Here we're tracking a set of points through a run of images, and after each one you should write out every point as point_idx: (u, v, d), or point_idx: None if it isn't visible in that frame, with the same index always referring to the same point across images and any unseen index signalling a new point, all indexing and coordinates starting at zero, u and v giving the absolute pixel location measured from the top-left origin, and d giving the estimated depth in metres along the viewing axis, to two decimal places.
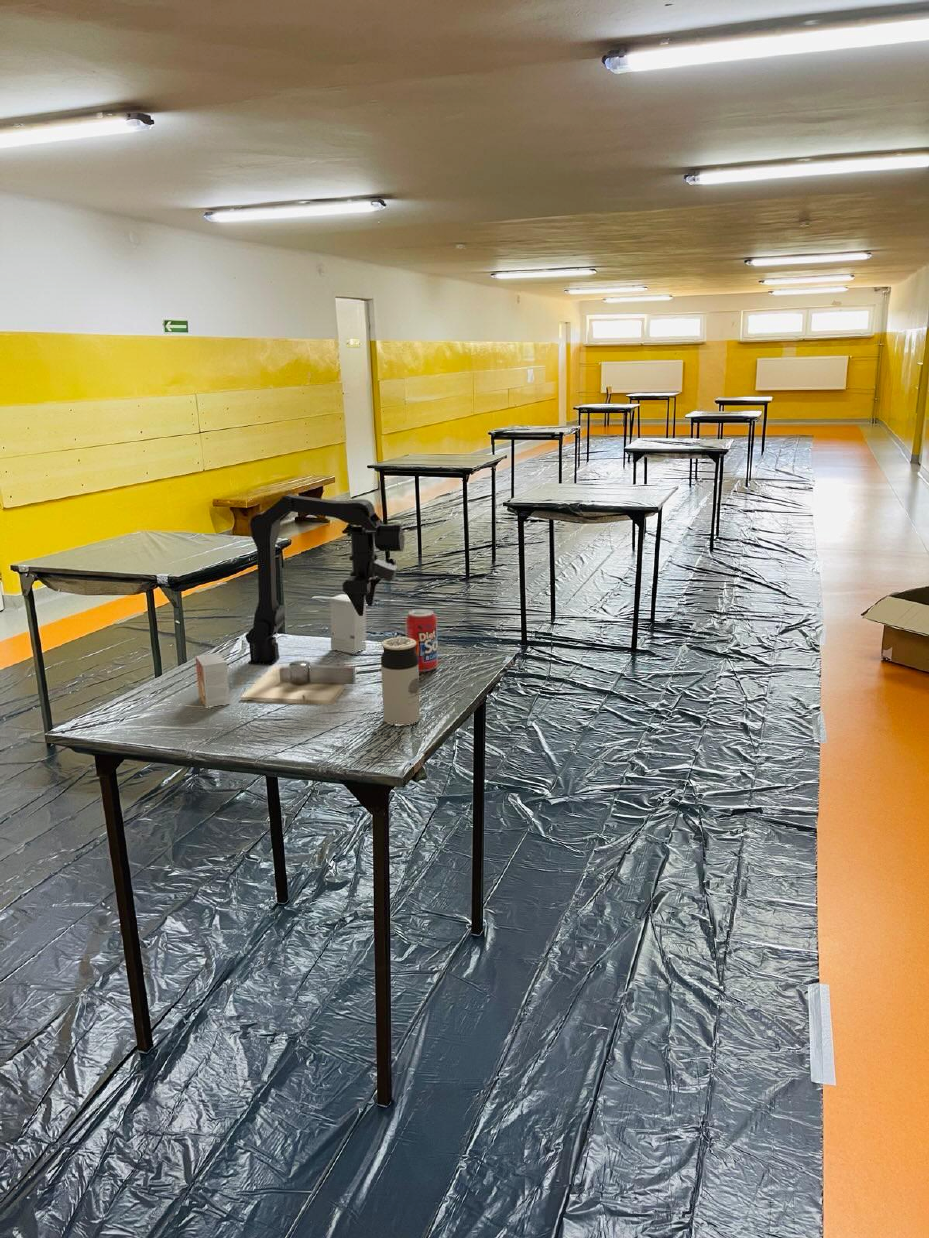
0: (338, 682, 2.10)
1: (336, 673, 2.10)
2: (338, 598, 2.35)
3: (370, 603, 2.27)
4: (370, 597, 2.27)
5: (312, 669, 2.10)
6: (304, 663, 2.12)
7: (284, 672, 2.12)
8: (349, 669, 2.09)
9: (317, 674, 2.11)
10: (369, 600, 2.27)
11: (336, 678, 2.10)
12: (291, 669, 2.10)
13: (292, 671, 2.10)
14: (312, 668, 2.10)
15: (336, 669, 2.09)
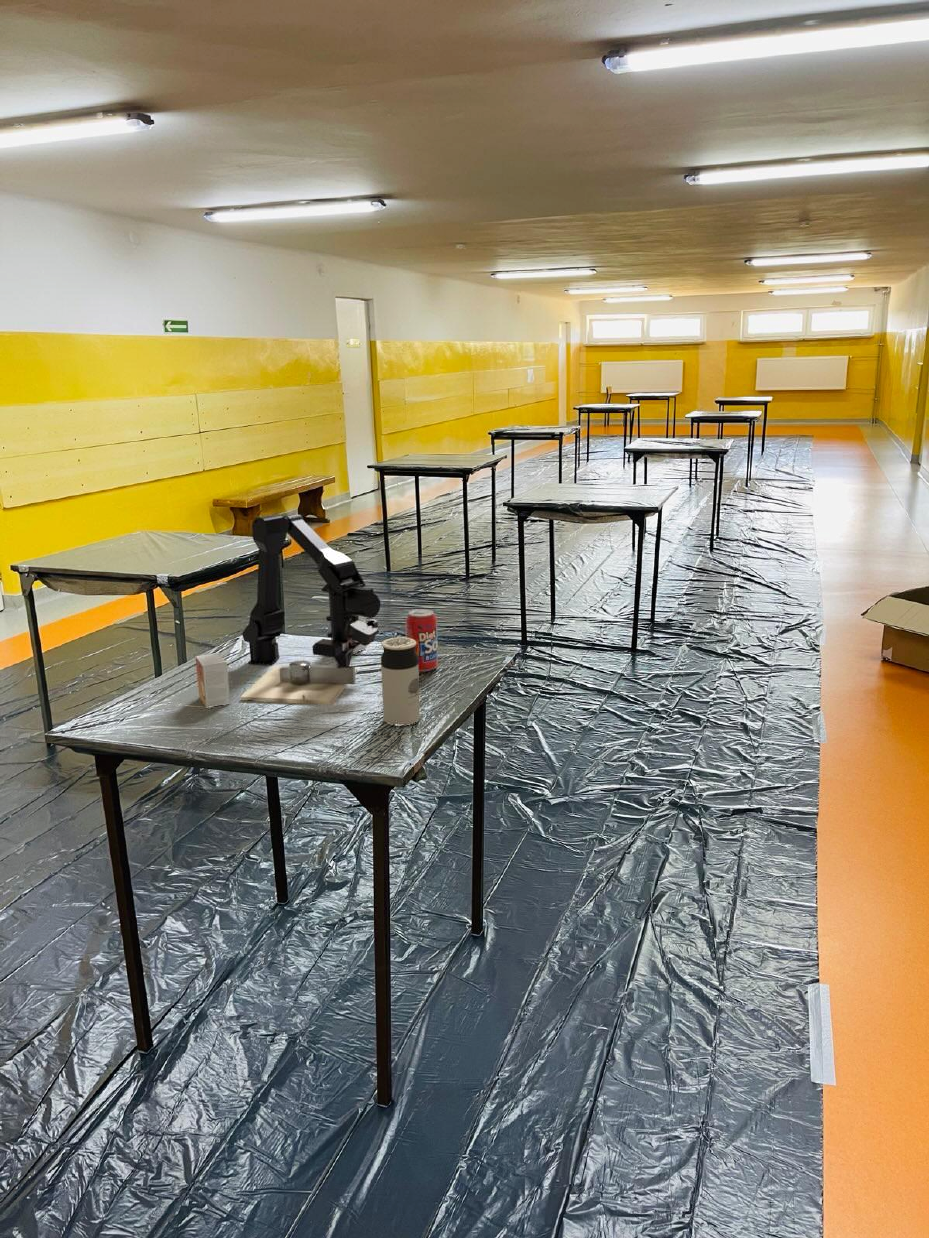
0: (338, 682, 2.10)
1: (336, 673, 2.10)
2: None
3: None
4: None
5: (312, 669, 2.10)
6: (304, 663, 2.12)
7: (284, 672, 2.12)
8: (349, 669, 2.09)
9: (317, 674, 2.11)
10: None
11: (335, 678, 2.10)
12: (291, 669, 2.10)
13: (292, 671, 2.10)
14: (312, 668, 2.10)
15: (336, 669, 2.09)
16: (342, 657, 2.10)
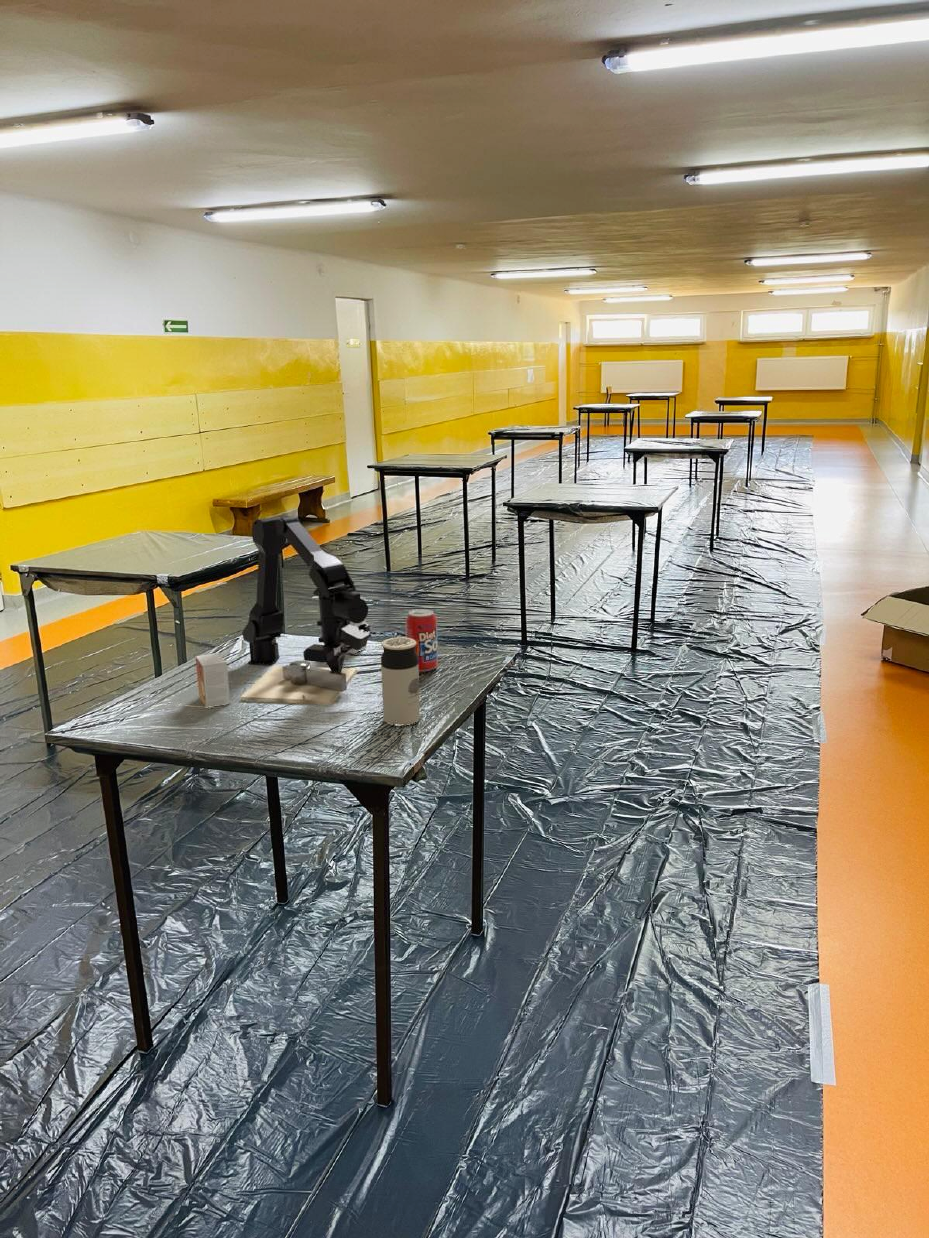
0: (329, 687, 2.07)
1: (328, 678, 2.07)
2: None
3: None
4: None
5: (308, 671, 2.09)
6: (304, 664, 2.11)
7: (286, 670, 2.13)
8: (338, 676, 2.05)
9: (312, 676, 2.09)
10: (336, 671, 2.08)
11: (327, 683, 2.07)
12: (289, 668, 2.11)
13: (290, 670, 2.10)
14: (308, 670, 2.09)
15: (327, 674, 2.06)
16: (334, 662, 2.06)
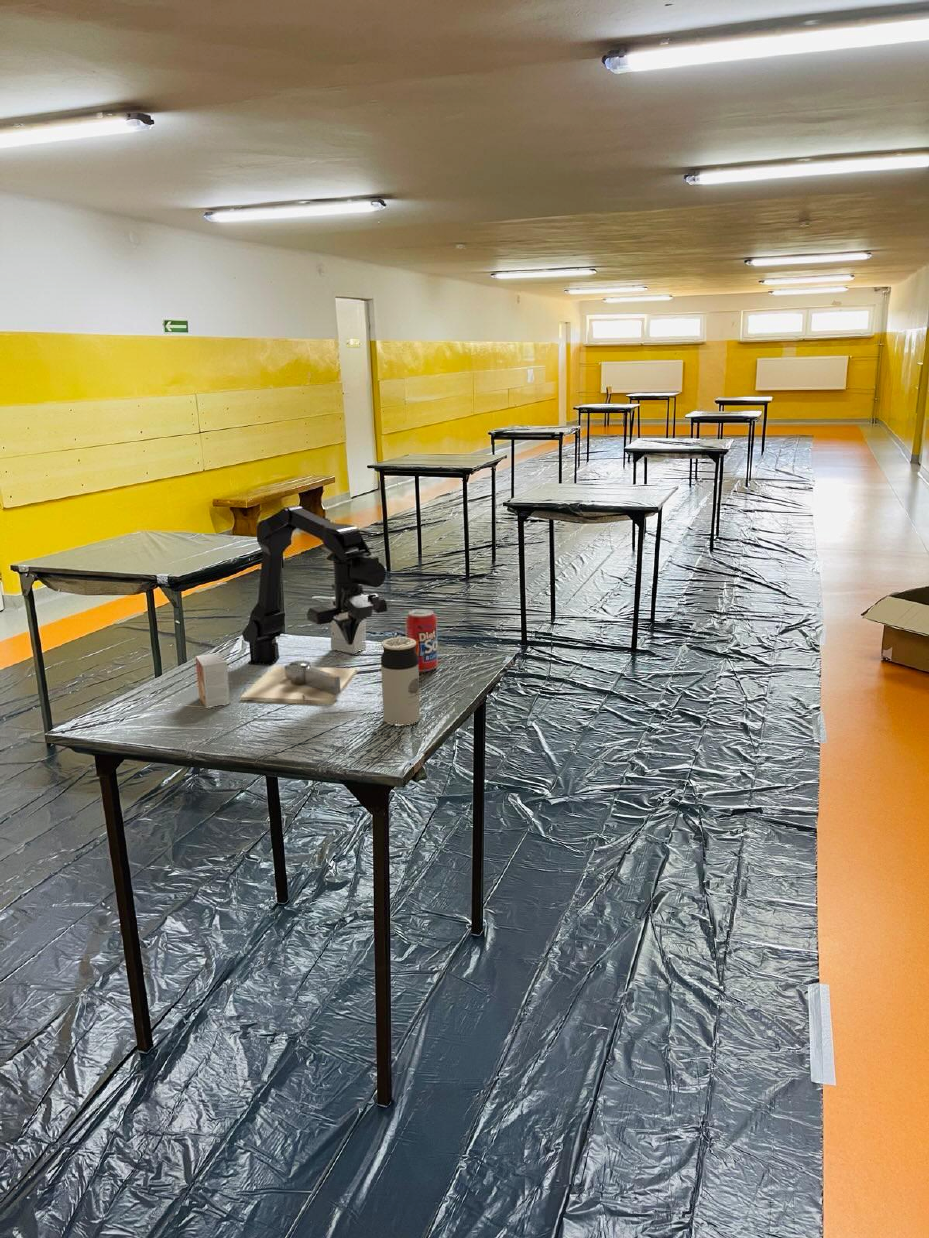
0: (324, 689, 2.06)
1: (322, 680, 2.05)
2: None
3: None
4: None
5: (306, 671, 2.09)
6: (303, 664, 2.11)
7: (288, 669, 2.14)
8: (331, 678, 2.03)
9: (309, 677, 2.09)
10: None
11: (322, 684, 2.06)
12: (289, 667, 2.11)
13: (289, 669, 2.11)
14: (306, 670, 2.09)
15: (322, 676, 2.05)
16: (344, 628, 2.05)
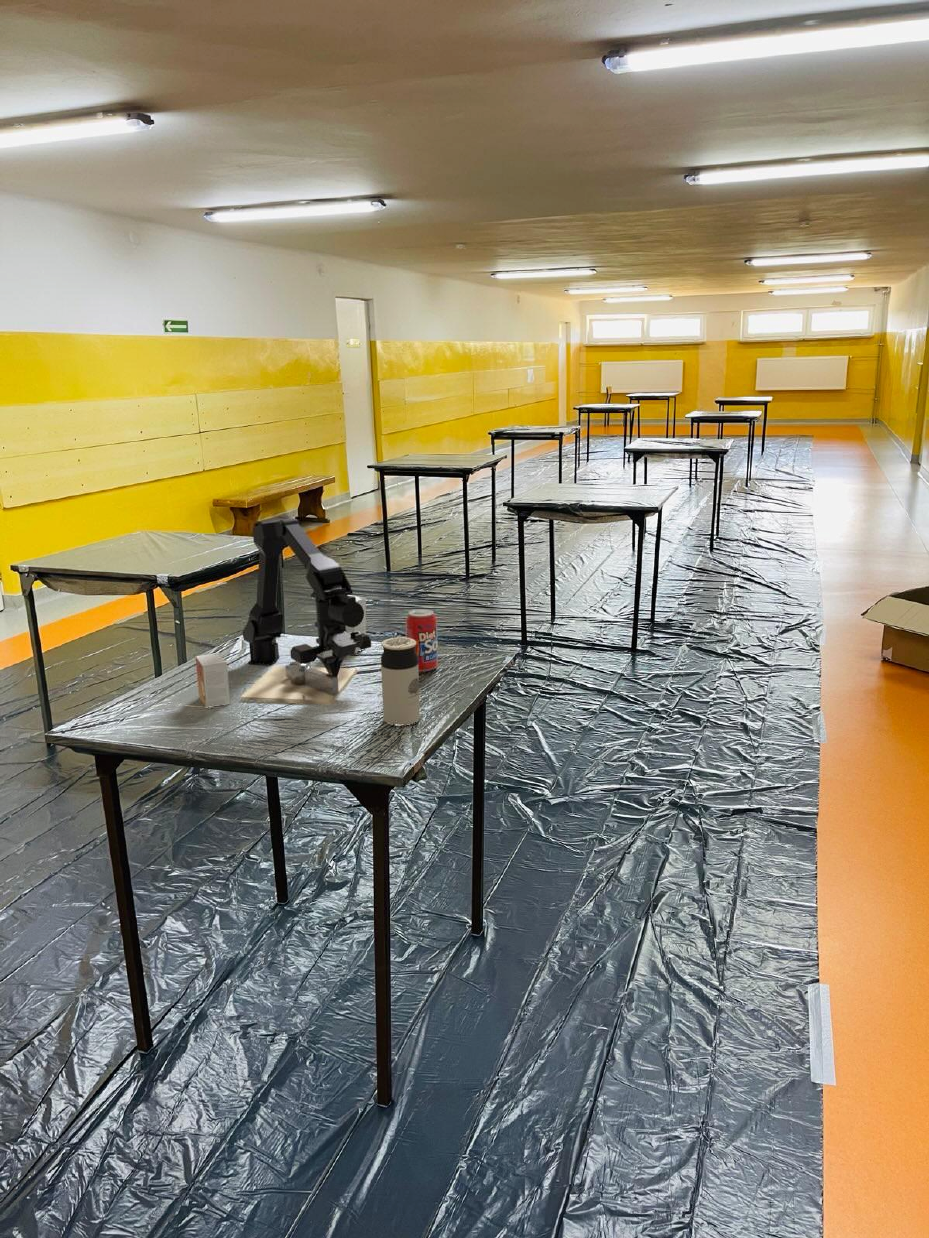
0: (323, 690, 2.06)
1: (321, 680, 2.05)
2: None
3: None
4: None
5: (305, 671, 2.09)
6: (303, 664, 2.11)
7: (288, 669, 2.14)
8: (329, 679, 2.03)
9: (309, 677, 2.08)
10: None
11: (321, 685, 2.06)
12: None
13: (289, 669, 2.11)
14: (305, 670, 2.09)
15: (321, 676, 2.05)
16: (328, 665, 2.05)
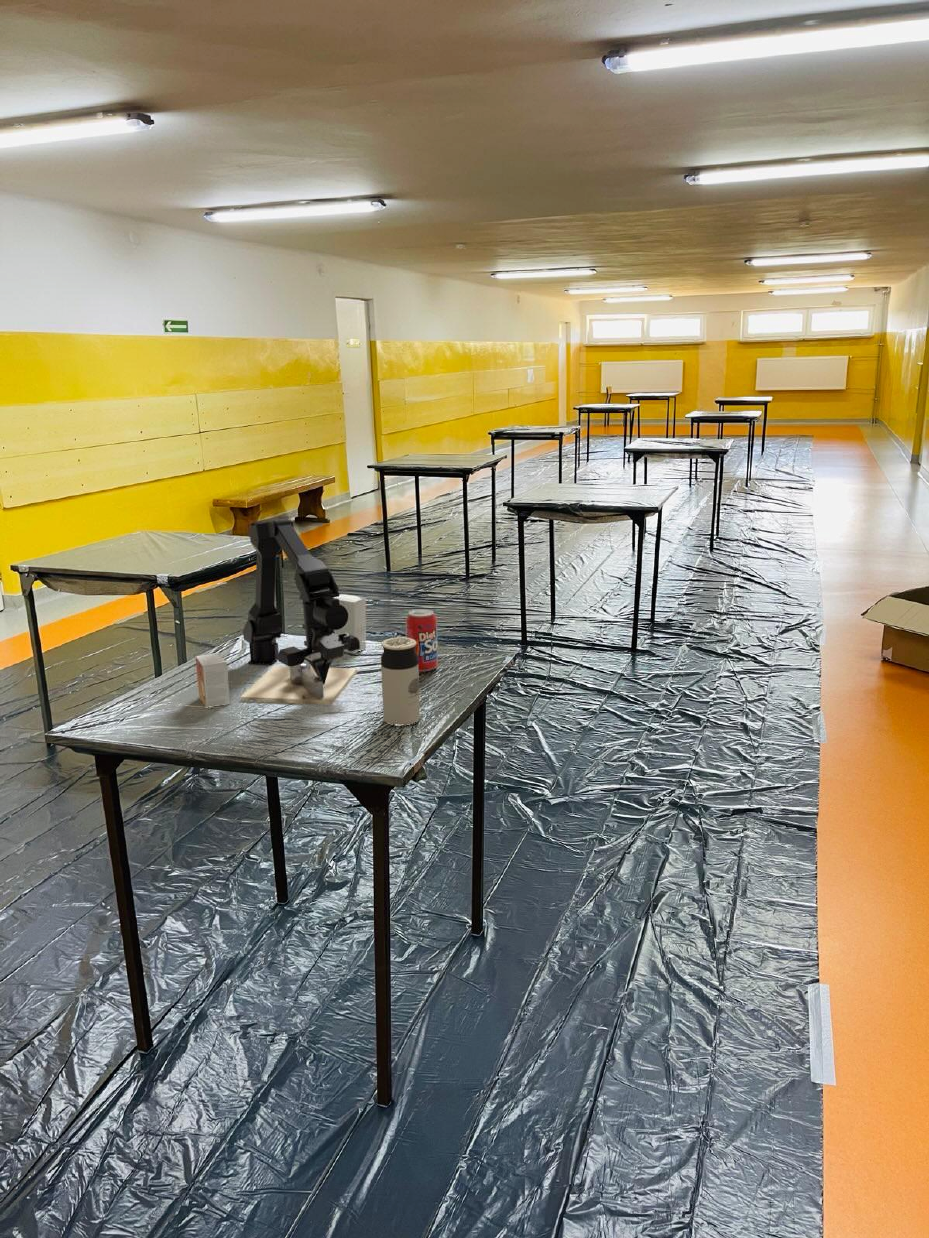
0: (311, 692, 2.04)
1: (310, 683, 2.04)
2: (338, 598, 2.35)
3: None
4: None
5: (301, 672, 2.08)
6: (302, 664, 2.11)
7: None
8: (314, 682, 2.01)
9: (303, 678, 2.08)
10: None
11: (310, 687, 2.04)
12: None
13: None
14: (301, 671, 2.08)
15: (310, 678, 2.03)
16: None
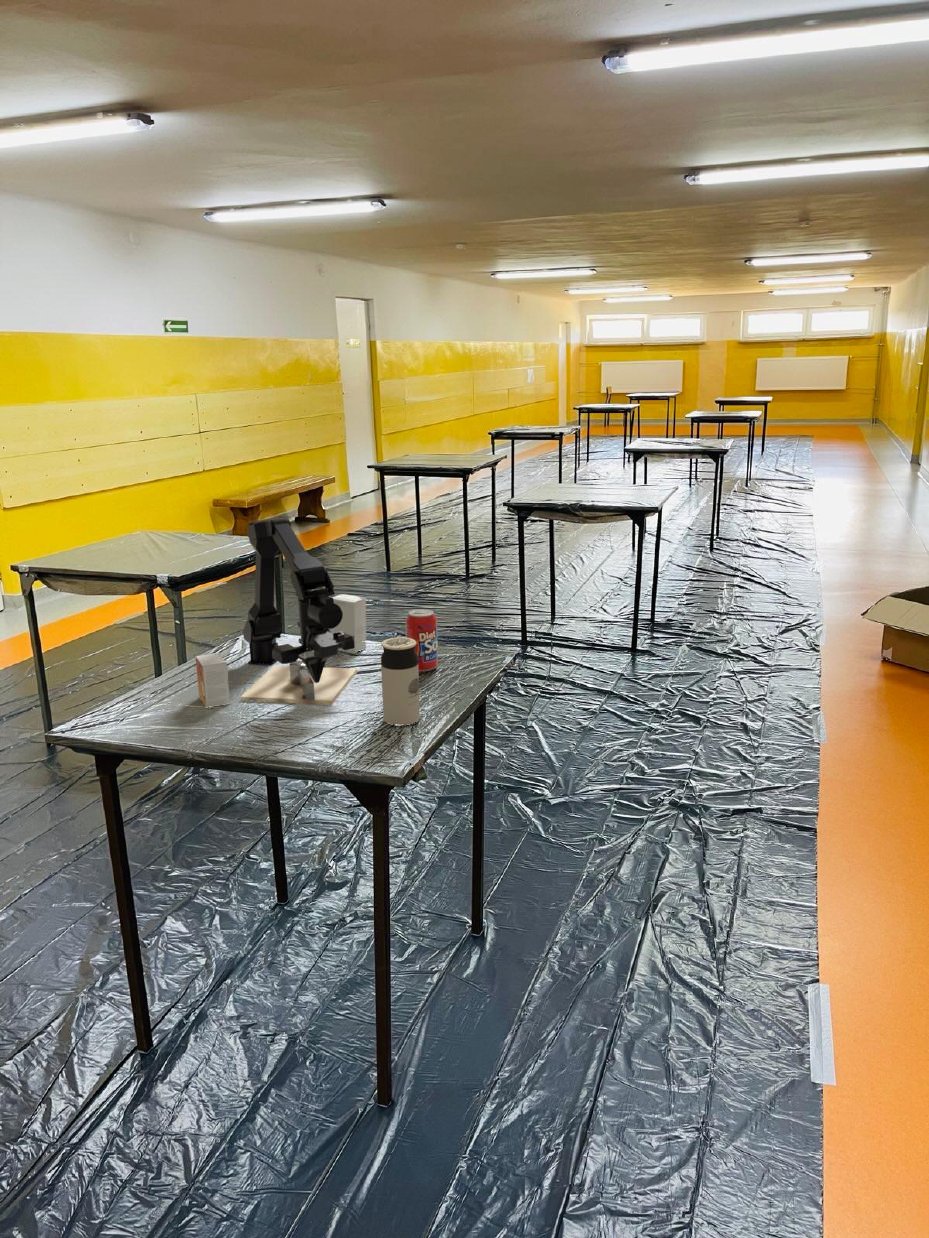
0: (304, 693, 2.04)
1: (303, 683, 2.03)
2: (338, 598, 2.35)
3: None
4: None
5: (299, 672, 2.08)
6: (302, 664, 2.11)
7: None
8: (306, 683, 2.00)
9: (300, 678, 2.08)
10: None
11: (304, 688, 2.04)
12: None
13: None
14: (299, 671, 2.08)
15: (303, 679, 2.03)
16: None
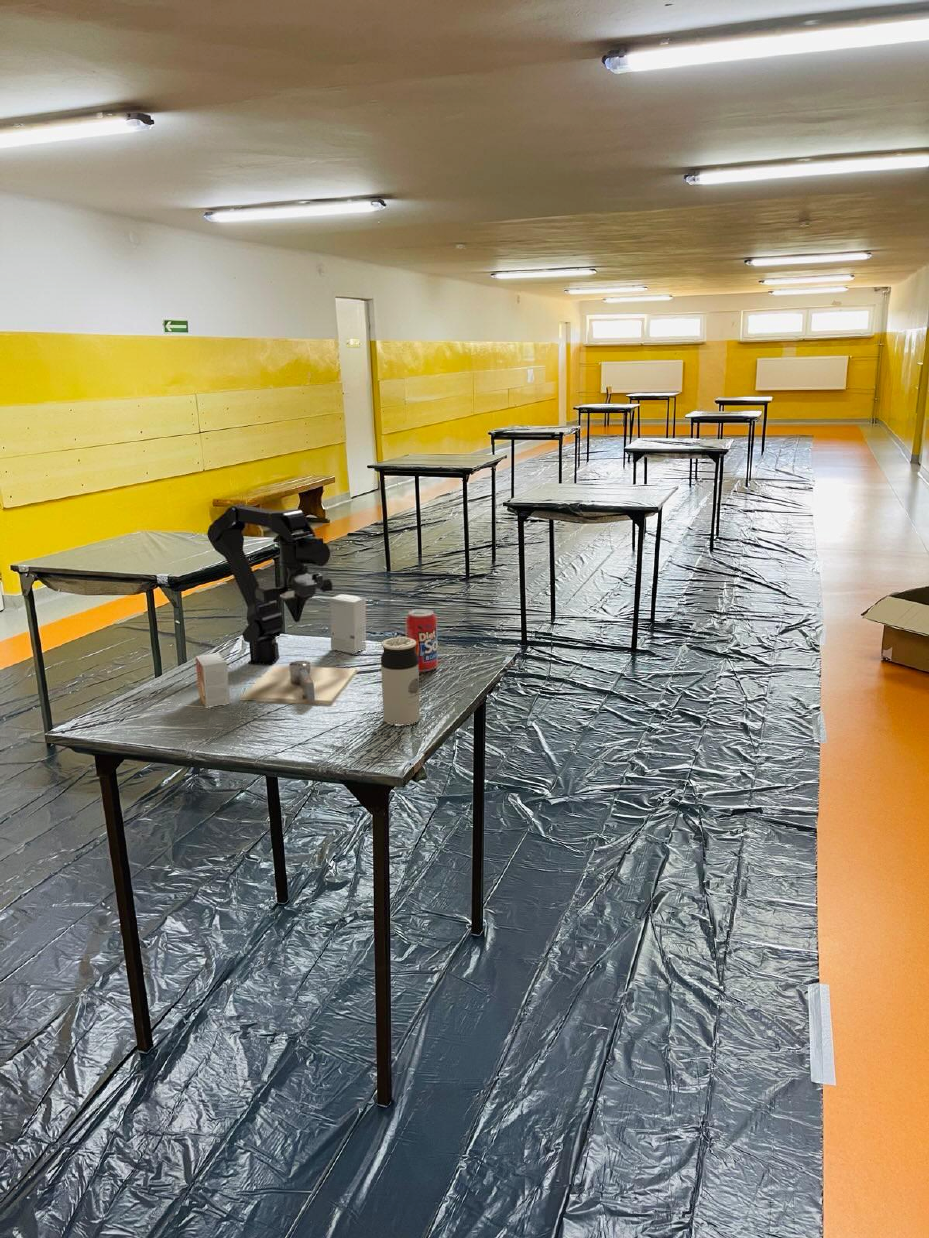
0: (304, 693, 2.04)
1: (303, 683, 2.03)
2: (338, 598, 2.35)
3: None
4: None
5: (299, 672, 2.08)
6: (302, 664, 2.11)
7: None
8: (306, 683, 2.00)
9: (300, 678, 2.08)
10: None
11: (304, 688, 2.04)
12: None
13: None
14: (299, 671, 2.08)
15: (303, 679, 2.03)
16: (291, 606, 2.18)
